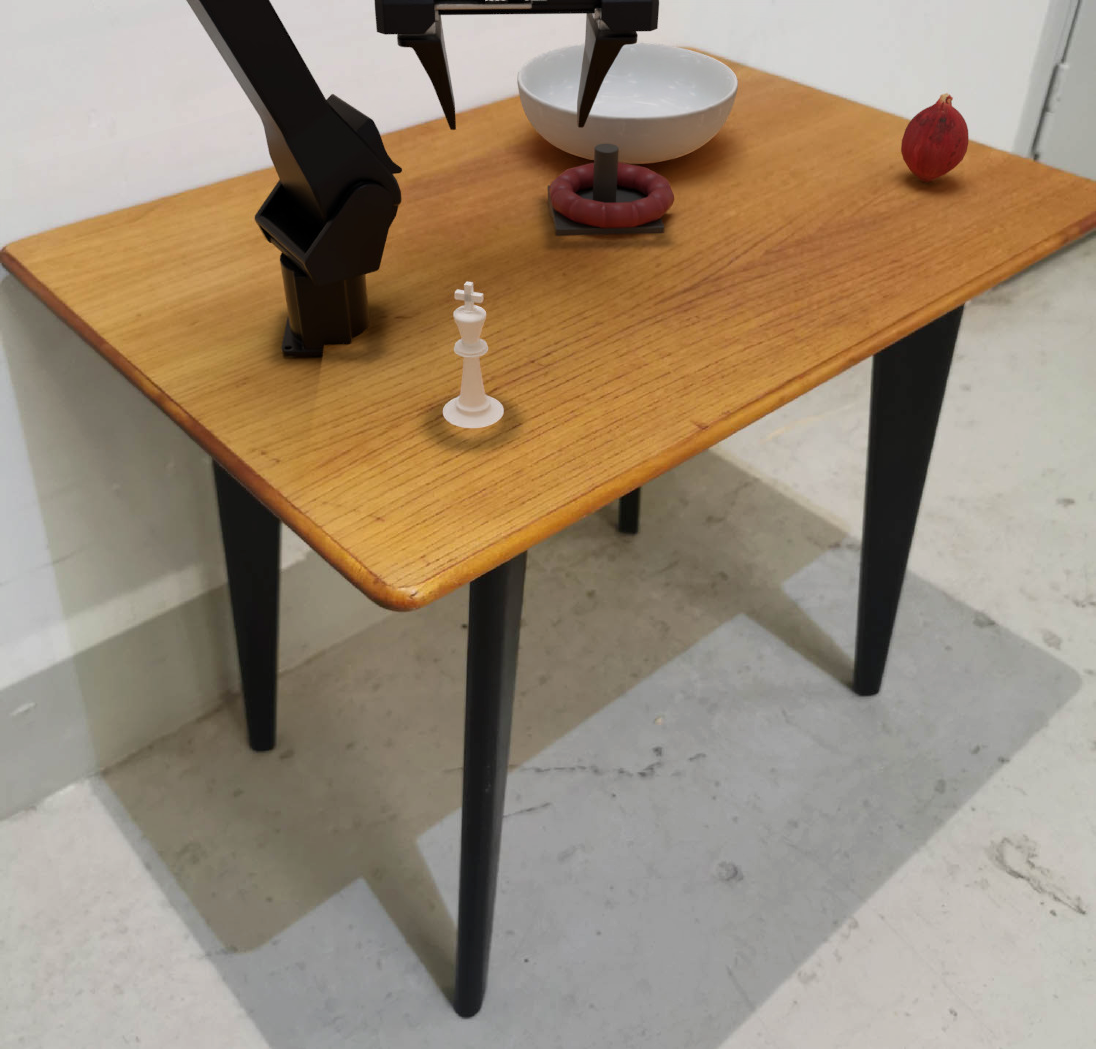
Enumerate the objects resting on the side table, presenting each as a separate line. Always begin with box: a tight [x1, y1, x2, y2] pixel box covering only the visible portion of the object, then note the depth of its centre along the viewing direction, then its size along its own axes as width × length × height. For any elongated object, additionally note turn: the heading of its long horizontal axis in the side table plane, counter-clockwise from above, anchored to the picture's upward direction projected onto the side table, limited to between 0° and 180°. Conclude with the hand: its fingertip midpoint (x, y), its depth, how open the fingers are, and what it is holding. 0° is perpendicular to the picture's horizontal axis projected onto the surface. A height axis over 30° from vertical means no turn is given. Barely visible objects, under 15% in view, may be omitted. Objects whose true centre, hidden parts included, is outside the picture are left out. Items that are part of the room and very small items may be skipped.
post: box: [546, 144, 665, 236], centre depth 95 cm, size 9×9×6 cm
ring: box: [549, 162, 675, 228], centre depth 95 cm, size 10×10×2 cm
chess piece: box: [442, 281, 505, 429], centre depth 70 cm, size 5×5×10 cm
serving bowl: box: [516, 41, 739, 165], centre depth 108 cm, size 21×21×7 cm
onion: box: [900, 92, 970, 183], centre depth 102 cm, size 6×6×8 cm
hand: (516, 126), depth 81 cm, fingers open, 9 cm apart
